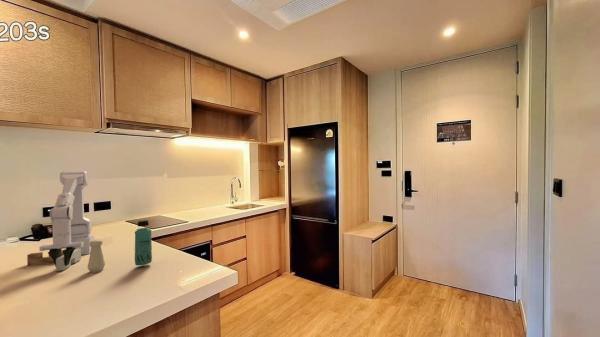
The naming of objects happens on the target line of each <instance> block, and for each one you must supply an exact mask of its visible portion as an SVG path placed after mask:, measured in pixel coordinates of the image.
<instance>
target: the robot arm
mask: <svg viewBox="0 0 600 337" xmlns="http://www.w3.org/2000/svg"><path fill="white" fill-rule="evenodd" d="M59 181H60V183H61V184H62V185H63V186H62V191H61V192H62V193H60V194H58V196H57V198H56V201H55V205H54V207H52V208H51V209H50V211H49V218H50V223H51V225H52V244H46V245H40V246H39V249H38V250H39V252H44V251H48V252H47V255H48V256H49V255H50V256H51V258H52V259H53V261H54V263H53V264H54V266H55V267H56V259H57V258H59V257H60V256H61V250H63V254H64V264H65V266H67V265H69V262H70V259H71V256H72V254H73V252H74V250H75V249H81V256H82V255H90V252H91V247H90V242H91V241H93V240H95V236H94V235H91V234H92V232H93V225H92V221H91V219H90V218H87V217H85V209H84V208H85V207H84V206H85V205H84V204H85V203H84V201H85V200H84V199H85V198H84V188H85V187H87V186H88V184H89V174H88V172H87V171H86V170H72V171H67V170H66V171H64V170H62V171H61V172H60V174H59Z"/></svg>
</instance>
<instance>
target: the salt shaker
mask: <svg viewBox="0 0 600 337" xmlns="http://www.w3.org/2000/svg"><path fill="white" fill-rule="evenodd" d="M102 245H103V240H102V239H100V238H99V239H94V240H93V241H91V242H90V247H91V252H90V253H89V258H88V263H87V270H88V271H89V273H91V274H95V273H100V272H102V271H103V270H104V268H105V265H106V263H105V259H104V254H103V249H102Z"/></svg>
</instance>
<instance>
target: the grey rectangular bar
mask: <svg viewBox="0 0 600 337" xmlns="http://www.w3.org/2000/svg"><path fill="white" fill-rule="evenodd" d="M81 260H82V255H81V249H75V250H74V252H73V254H72V256H71V259H70V262H69V265H67V266H65V264H64V255H63V256H61V257H59V258H57V259H56V266H55V271H56V272H58V271H64V270H66V269H67V268H69V267H70V266H72V264H75V263H78V262H79V261H81Z"/></svg>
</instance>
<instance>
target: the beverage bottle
mask: <svg viewBox="0 0 600 337" xmlns="http://www.w3.org/2000/svg"><path fill="white" fill-rule="evenodd" d="M149 225H150V223H149V220H147V219H146V220H139V221H138V222H137V227H138V228H137V229H136V230H135V231H134V264H135V265H134V266H145V265H149V264H151V263H152V260H153V253H152V248H153V246H152V245H153V244H152V229H151V228H149V227H147V226H149Z"/></svg>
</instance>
